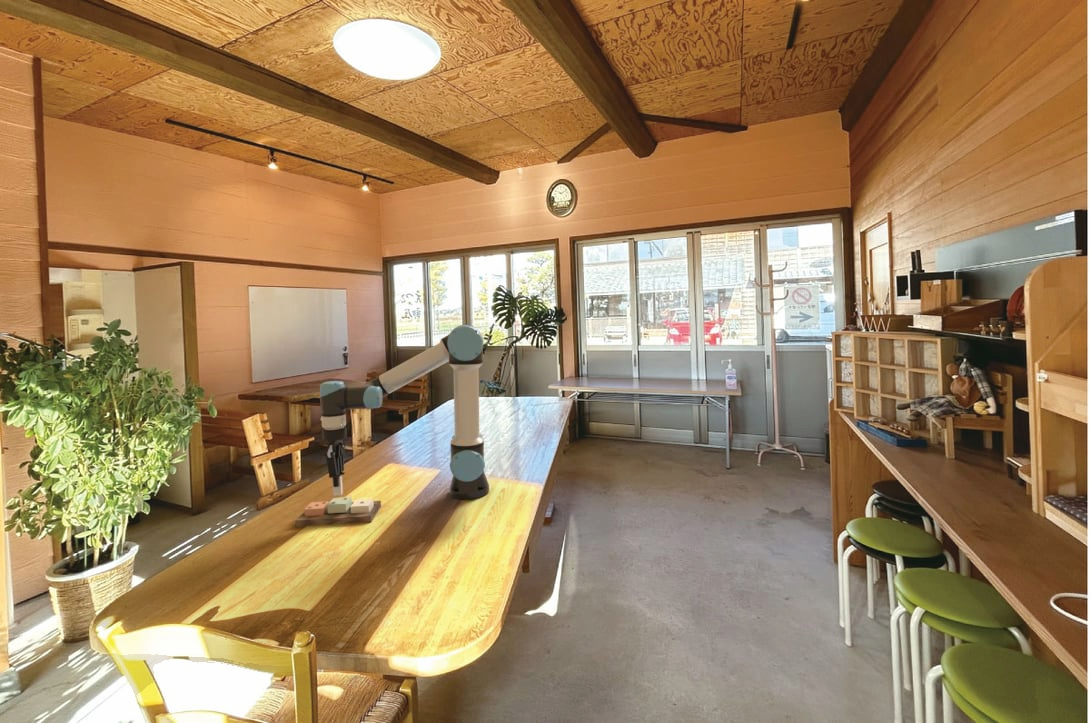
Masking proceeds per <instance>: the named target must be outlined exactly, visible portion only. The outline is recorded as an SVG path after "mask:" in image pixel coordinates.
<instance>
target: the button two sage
mask: <svg viewBox="0 0 1090 723" xmlns="http://www.w3.org/2000/svg"><path fill="white" fill-rule="evenodd" d="M352 502H353V501H352V496H346V497H345V496H343V497H332V499H331V500H330V501H329V503H328V505H327V509H328V513H344V512H347V511H348V509H349V508H350V507H351V505H352Z"/></svg>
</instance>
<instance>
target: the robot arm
mask: <svg viewBox="0 0 1090 723" xmlns="http://www.w3.org/2000/svg"><path fill="white" fill-rule="evenodd" d="M483 350H484V338H483V335H482V333H481V331H480V330H479V329H478V328H477V327H475V326H474V325H471V324H460V325H458V326H456V327H454V328H453V329H452V330H451V332H450V333H449V334H447V335H446V336H444V337H443V338H440V341H439V343H436V344H435V345H432V347H430V348H427V349H426V350H424V351H422V352H421V353H419V354H417V355H414V356H413V357H411V358H410V359H407V360H405V361H403V362H402V363H400V364H398V365H396V366H395V367H392V368H391V369H389V370H388V371H386V372H384V373H382V374H380V375H379V376H376V377H375V378H373V379H371V380H368V381H367V382H365V383H364V384H362V385H361V386H350V387H349V386H348V387H347V386H345V382H344V381H342V380H333V381H332V380H331V381H325V382H322V383H321V384H320V385H319V401H320V402H319V403H320V411H321V412H320V416H321V417H320V419H319V421H321V427H322V429H321V436H322V440H323V441H326V442H328V443H327V446H326V448H327V451H325V452H324V457H325V459H326V464H327V471H328V477H329V479H331V480H332V481H331V483H332V484H331V485H332V495H333V497H336V496H342V495H343V494H344V490H343V476H344V475H345V471H344V470H345V451H346V450H345V448H346V442H343V440H344V439H346V438H347V436H348V433H347V427H346V425H347V413H346V410H367V409H369V410H373V409H379V408H381V407H382V406H383V398H385V397H386V396H388V395H390V394H391V393H393V392H395V391H397V390H400V389H401V388H402V387H404V386H406V385H408V384H410V383H412V382H413V381H415V380H418V379H419V378H421V377H423V376H425V375H427V374H428V373H430V372H432V371H434V370H435V369H437V368H439V367H441V366H442V365H445V364H446V363H448V365H449V366H450V367H451V368H452V369H453V402H454V403H453V405H454V406H453V409H454V410H453V411H454V413H453V414H454V416H453V417H454V435H453V436H452V437H451V439H450V462H449V470H450V471H451V474H452V478H451V482H450V485H449V496H450V497H452V498H454V499H457V500H474V499H477V498H481V497H484V496H486V495H487V494H489V493H490V484H489V481H488V479H487V476H486V474H485V467H486V462H485V448H484V447H485V446H484V445H485V444H484V443H485V440H484V437H483V434H482V433H480V388H479V387H480V385H479V384H480V382H479V380H480V379H479V376H480V374H479V369H480V368H481V366H482V365H483V364H484V351H483ZM342 475H343V476H342Z"/></svg>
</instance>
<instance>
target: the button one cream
mask: <svg viewBox="0 0 1090 723" xmlns="http://www.w3.org/2000/svg"><path fill="white" fill-rule="evenodd" d="M374 501H375V500H374V498H365V499H364V498H363V499H355V501H353V502H354V503H353V504H352V505H351V507H350V508H351V513H367V512H371V510H372V509H373V507H374Z"/></svg>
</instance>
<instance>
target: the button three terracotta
mask: <svg viewBox="0 0 1090 723" xmlns="http://www.w3.org/2000/svg"><path fill="white" fill-rule="evenodd" d="M329 502H330V501H312V502H310V503H308V505H307V506H306V507H305V508H304V509H303V511H304V512H303V513H305V516H318V515H325V514H326V513H327V511H328V509H327V505H328V503H329Z"/></svg>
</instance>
